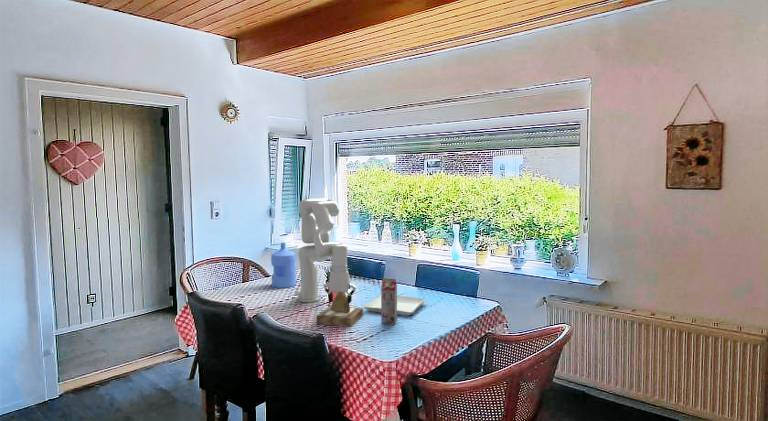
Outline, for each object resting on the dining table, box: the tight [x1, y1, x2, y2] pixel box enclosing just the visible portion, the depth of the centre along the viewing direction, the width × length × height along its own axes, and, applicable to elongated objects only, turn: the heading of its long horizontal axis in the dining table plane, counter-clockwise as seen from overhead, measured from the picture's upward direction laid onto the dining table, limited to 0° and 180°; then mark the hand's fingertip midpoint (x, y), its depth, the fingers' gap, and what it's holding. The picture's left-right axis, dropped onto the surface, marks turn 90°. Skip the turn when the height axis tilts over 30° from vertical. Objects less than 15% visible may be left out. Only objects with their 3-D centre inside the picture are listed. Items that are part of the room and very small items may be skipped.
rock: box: [330, 292, 351, 312], centre depth 241 cm, size 11×9×10 cm
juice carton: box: [380, 277, 398, 326], centre depth 235 cm, size 7×7×22 cm
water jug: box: [270, 242, 297, 289], centre depth 313 cm, size 16×16×28 cm
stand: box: [315, 305, 364, 327], centre depth 241 cm, size 18×18×4 cm
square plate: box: [363, 295, 427, 316], centre depth 261 cm, size 27×27×4 cm
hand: (340, 302), depth 240 cm, fingers open, 9 cm apart
